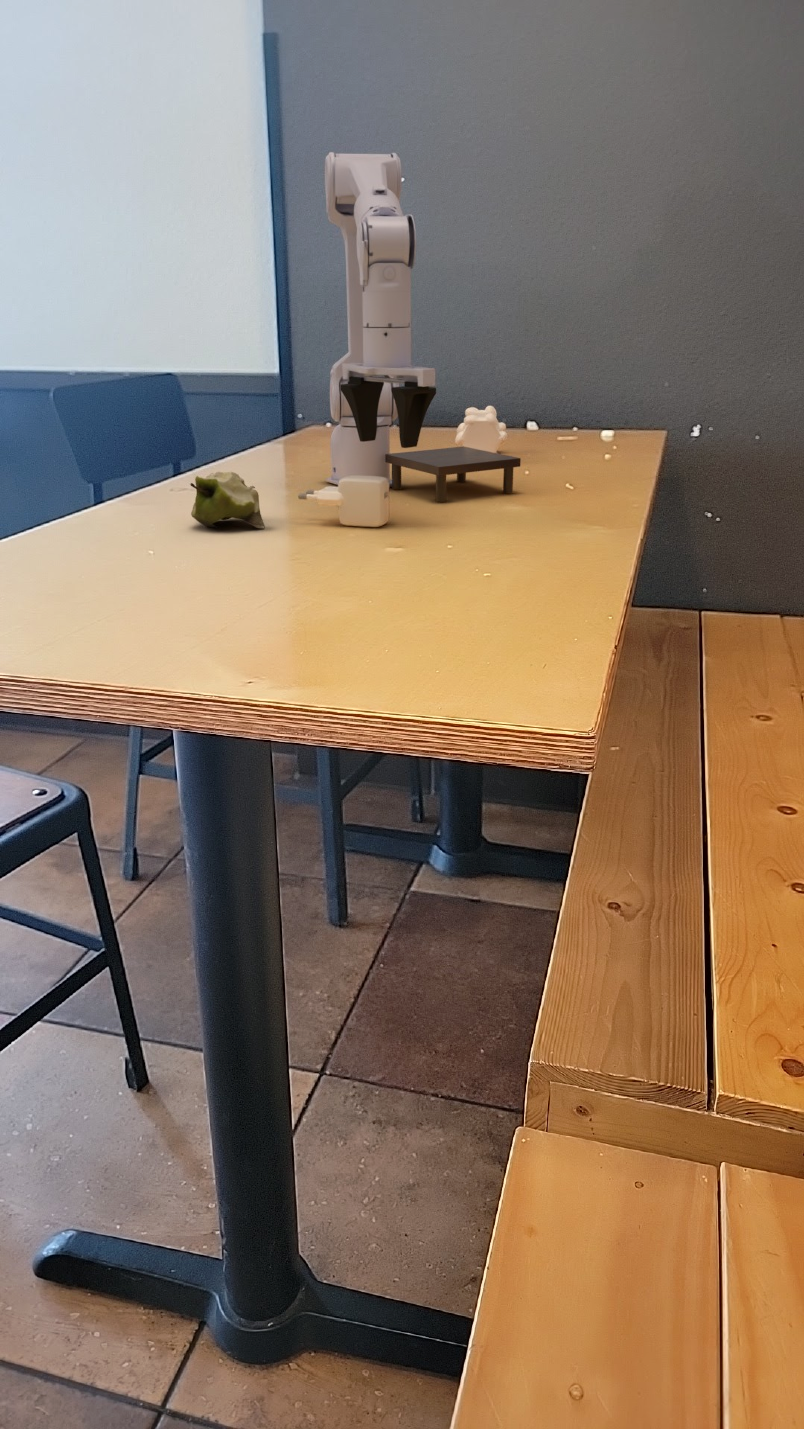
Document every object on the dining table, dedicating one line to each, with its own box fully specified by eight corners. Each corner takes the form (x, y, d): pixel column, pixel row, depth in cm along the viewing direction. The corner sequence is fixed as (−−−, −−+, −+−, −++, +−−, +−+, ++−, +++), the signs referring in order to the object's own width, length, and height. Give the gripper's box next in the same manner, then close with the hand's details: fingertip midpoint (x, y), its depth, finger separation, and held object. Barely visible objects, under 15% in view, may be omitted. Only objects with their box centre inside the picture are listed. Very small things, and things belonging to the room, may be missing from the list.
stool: (385, 488, 157) (385, 454, 155) (463, 479, 164) (463, 446, 162) (438, 503, 146) (438, 466, 144) (519, 493, 153) (520, 458, 151)
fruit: (210, 547, 128) (191, 481, 125) (191, 538, 136) (172, 476, 133) (281, 525, 131) (263, 460, 128) (257, 517, 139) (241, 456, 136)
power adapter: (296, 524, 134) (293, 477, 131) (309, 517, 138) (308, 471, 136) (380, 529, 131) (380, 481, 128) (392, 521, 135) (391, 475, 133)
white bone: (506, 465, 176) (508, 414, 173) (454, 464, 177) (455, 414, 174) (505, 451, 190) (506, 404, 187) (456, 451, 191) (457, 404, 188)
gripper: (322, 326, 129) (325, 441, 134) (404, 329, 119) (404, 453, 124) (365, 324, 133) (367, 435, 138) (448, 327, 124) (447, 447, 129)
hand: (388, 443), depth 132 cm, fingers open, 7 cm apart
